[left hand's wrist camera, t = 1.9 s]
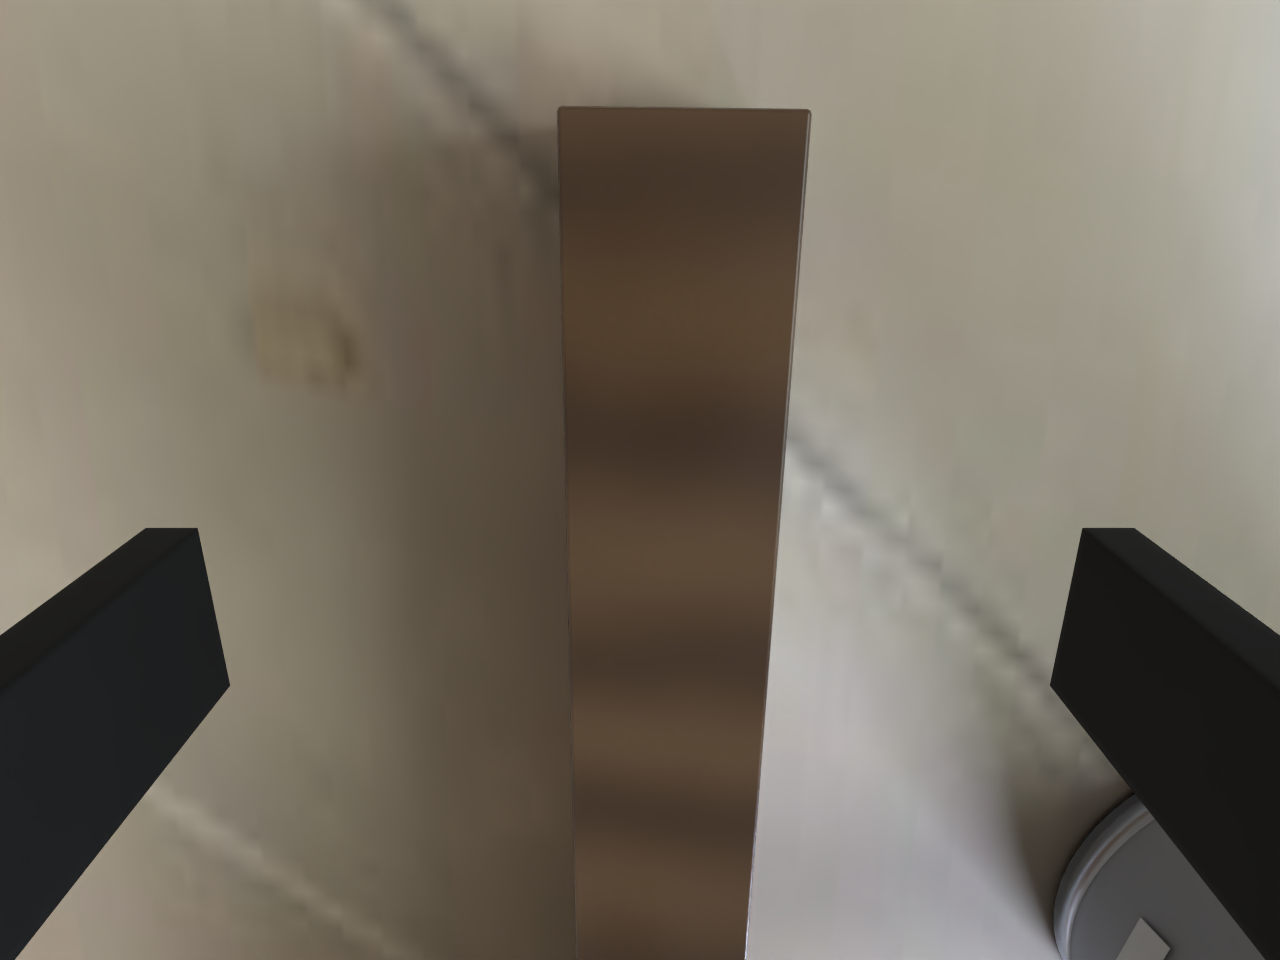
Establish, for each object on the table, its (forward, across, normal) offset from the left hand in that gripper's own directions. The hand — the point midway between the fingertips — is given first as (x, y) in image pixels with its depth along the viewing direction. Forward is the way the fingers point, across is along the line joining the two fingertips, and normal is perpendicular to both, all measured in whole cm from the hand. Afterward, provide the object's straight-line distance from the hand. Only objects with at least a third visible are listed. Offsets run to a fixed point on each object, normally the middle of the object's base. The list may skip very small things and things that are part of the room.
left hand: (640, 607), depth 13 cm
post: (+15, 0, -28) cm, 32 cm away
